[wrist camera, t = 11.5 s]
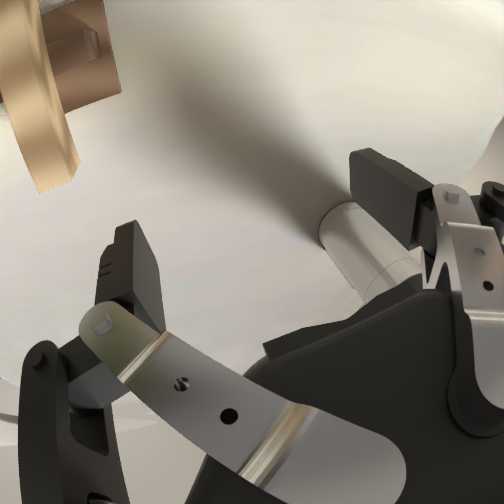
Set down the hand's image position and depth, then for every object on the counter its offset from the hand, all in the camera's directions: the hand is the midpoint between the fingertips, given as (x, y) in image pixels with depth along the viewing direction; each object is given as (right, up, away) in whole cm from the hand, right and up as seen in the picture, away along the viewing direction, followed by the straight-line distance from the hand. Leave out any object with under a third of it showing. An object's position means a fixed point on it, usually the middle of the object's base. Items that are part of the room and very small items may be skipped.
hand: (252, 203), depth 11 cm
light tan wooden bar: (-18, +13, +6) cm, 23 cm away
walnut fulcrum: (-20, +18, +12) cm, 30 cm away
